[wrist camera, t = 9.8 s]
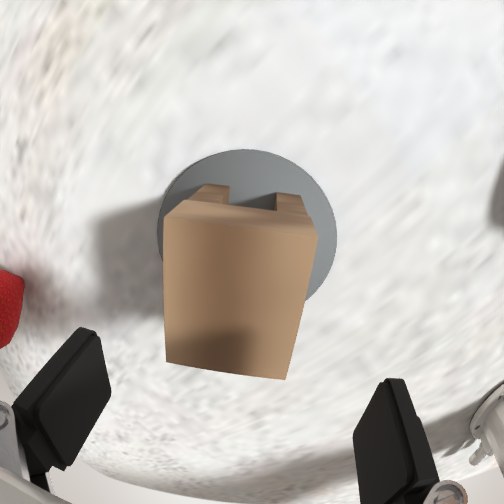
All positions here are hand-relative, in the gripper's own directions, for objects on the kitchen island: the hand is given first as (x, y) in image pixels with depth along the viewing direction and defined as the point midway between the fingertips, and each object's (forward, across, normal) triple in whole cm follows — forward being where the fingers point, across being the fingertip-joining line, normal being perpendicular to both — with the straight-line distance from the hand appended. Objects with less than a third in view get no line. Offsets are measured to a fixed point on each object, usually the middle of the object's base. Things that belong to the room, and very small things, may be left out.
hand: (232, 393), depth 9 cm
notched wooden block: (+12, +1, 0) cm, 12 cm away
